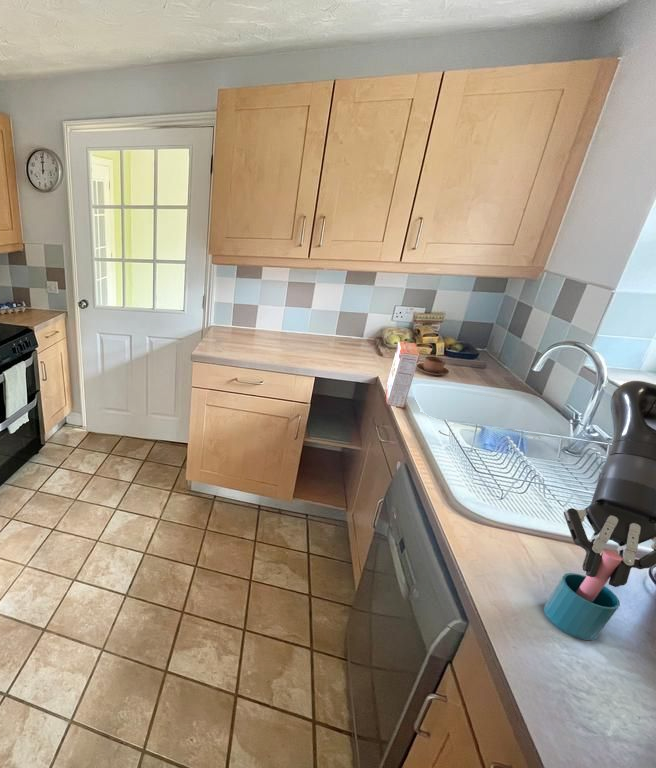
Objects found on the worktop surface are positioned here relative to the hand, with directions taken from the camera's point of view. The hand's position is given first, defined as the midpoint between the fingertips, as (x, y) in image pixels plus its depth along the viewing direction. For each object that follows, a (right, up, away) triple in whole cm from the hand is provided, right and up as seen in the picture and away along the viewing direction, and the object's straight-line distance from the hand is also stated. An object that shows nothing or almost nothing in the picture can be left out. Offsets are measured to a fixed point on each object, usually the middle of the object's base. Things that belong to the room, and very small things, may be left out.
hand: (602, 580), depth 68 cm
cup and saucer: (+51, +38, +114) cm, 130 cm away
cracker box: (+19, +27, +88) cm, 94 cm away
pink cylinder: (+1, -5, +4) cm, 6 cm away
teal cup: (+1, -10, +6) cm, 12 cm away
